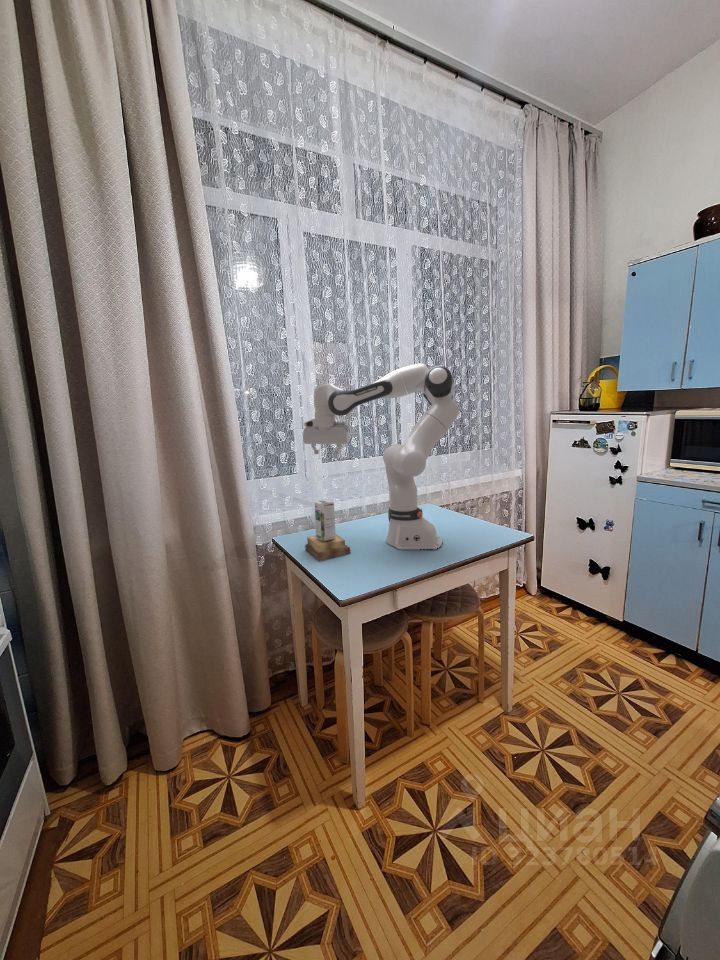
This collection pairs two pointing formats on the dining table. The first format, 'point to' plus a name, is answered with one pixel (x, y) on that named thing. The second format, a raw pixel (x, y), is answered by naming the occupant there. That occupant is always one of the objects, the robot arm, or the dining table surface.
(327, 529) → the syrup box
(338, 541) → the oak top slab
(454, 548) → the dining table surface
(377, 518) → the dining table surface
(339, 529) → the dining table surface
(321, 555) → the walnut base slab
